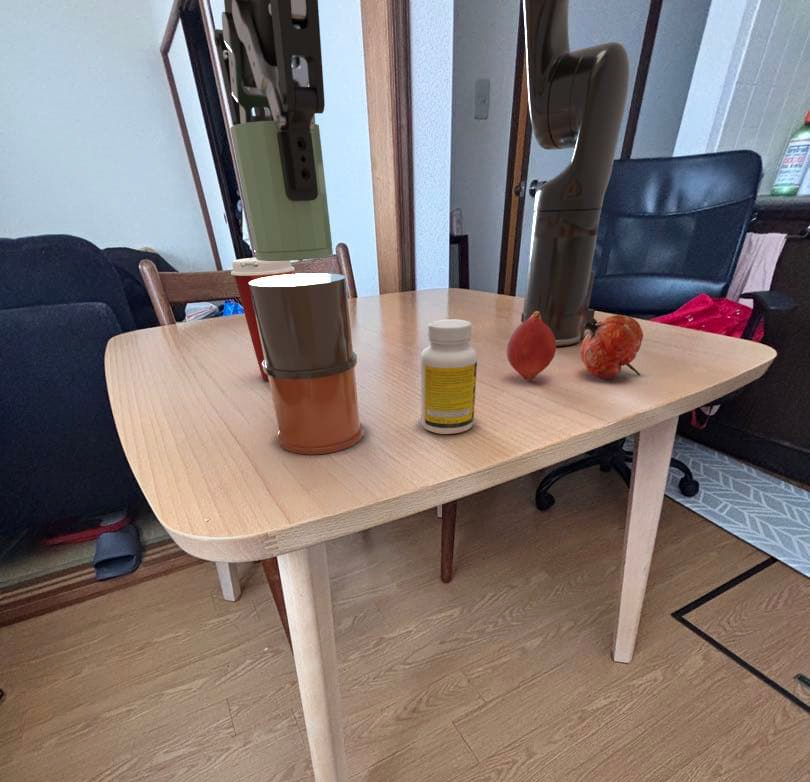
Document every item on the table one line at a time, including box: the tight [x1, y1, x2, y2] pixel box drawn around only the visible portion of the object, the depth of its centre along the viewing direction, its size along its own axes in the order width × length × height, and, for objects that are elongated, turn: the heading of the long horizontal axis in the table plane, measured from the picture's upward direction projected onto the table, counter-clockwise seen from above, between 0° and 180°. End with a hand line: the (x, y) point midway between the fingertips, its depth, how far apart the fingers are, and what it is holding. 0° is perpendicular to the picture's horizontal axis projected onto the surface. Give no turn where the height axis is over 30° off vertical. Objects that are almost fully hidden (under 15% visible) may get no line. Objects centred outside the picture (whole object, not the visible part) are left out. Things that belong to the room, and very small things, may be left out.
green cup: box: [229, 121, 334, 262], centre depth 36 cm, size 6×6×8 cm
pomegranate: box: [580, 314, 644, 380], centre depth 58 cm, size 7×7×10 cm
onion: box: [506, 311, 557, 381], centre depth 57 cm, size 6×6×8 cm
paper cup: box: [230, 257, 295, 382], centre depth 61 cm, size 8×8×14 cm
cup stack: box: [249, 272, 365, 455], centre depth 43 cm, size 9×9×14 cm
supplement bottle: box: [420, 318, 478, 435], centre depth 46 cm, size 5×5×10 cm
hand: (286, 201), depth 36 cm, fingers closed on green cup, 6 cm apart
